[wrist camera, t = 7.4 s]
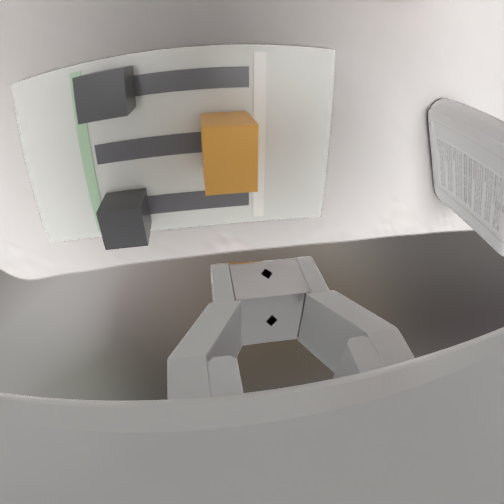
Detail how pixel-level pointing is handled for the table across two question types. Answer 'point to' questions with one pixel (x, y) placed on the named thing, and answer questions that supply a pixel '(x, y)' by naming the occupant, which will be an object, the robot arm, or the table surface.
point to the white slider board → (172, 138)
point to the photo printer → (469, 166)
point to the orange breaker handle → (229, 152)
